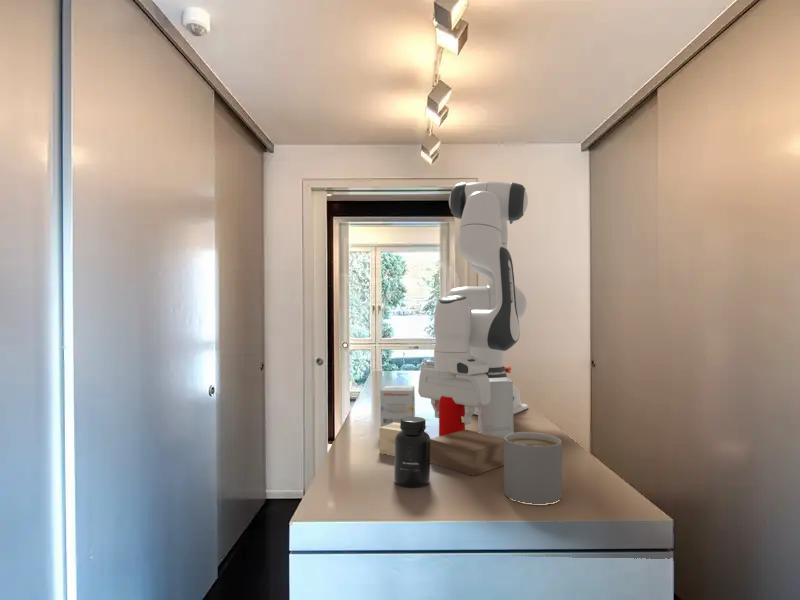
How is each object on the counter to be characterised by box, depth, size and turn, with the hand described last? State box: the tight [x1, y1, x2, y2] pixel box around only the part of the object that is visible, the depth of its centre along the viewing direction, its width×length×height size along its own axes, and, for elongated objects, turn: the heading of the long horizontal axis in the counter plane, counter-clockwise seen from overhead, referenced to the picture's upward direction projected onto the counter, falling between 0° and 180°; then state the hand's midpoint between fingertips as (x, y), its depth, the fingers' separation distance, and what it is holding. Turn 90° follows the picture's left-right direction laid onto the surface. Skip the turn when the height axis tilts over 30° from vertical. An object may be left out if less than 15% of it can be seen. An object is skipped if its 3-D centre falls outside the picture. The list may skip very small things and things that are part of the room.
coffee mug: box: [503, 431, 563, 504], centre depth 95 cm, size 13×10×10 cm
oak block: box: [379, 422, 401, 457], centre depth 119 cm, size 6×6×6 cm
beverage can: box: [438, 395, 466, 437], centre depth 125 cm, size 6×6×12 cm
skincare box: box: [477, 376, 515, 438], centre depth 132 cm, size 8×6×15 cm
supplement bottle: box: [393, 416, 431, 488], centre depth 100 cm, size 7×7×12 cm
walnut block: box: [430, 429, 504, 477], centre depth 111 cm, size 12×12×5 cm
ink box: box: [379, 385, 416, 427], centre depth 138 cm, size 9×9×12 cm
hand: (452, 420), depth 125 cm, fingers open, 7 cm apart
